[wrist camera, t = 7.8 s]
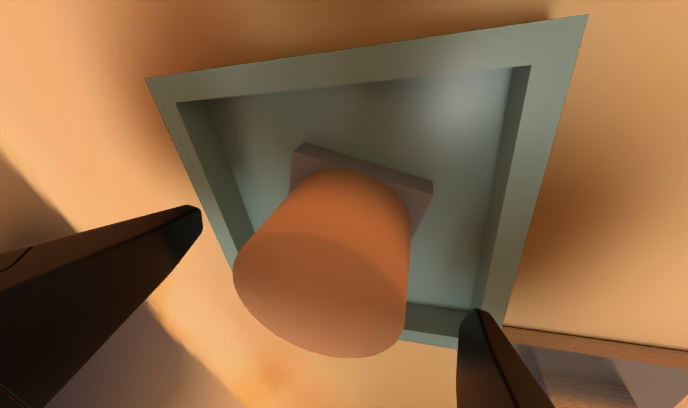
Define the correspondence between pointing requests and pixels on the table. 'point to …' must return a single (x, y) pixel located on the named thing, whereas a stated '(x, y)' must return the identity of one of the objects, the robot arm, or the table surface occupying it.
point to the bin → (392, 146)
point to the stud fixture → (601, 371)
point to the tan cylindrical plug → (335, 255)
